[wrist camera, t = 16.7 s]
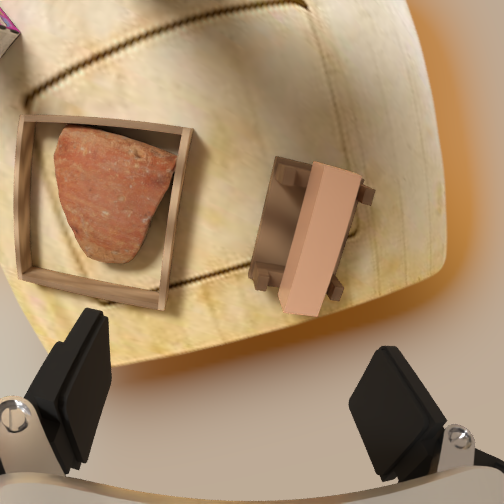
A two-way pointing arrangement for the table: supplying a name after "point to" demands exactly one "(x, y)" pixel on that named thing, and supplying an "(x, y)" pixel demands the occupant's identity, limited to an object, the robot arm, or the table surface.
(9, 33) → the candy bar box
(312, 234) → the tan pink long block
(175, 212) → the low wooden frame
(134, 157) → the ceramic shard
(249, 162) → the table surface
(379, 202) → the table surface
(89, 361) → the robot arm
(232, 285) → the table surface
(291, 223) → the rack
